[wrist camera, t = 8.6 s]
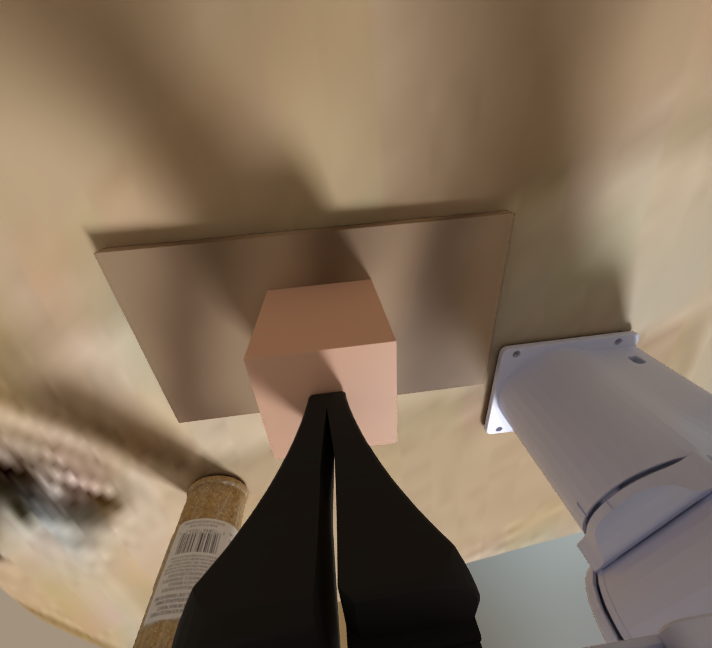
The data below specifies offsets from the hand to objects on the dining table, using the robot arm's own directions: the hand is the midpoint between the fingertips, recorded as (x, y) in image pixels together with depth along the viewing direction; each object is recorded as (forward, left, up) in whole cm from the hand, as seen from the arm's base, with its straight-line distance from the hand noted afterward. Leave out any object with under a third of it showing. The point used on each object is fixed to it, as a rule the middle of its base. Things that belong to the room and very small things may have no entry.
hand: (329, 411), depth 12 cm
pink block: (0, 0, -6) cm, 6 cm away
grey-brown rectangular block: (0, 0, -7) cm, 7 cm away
